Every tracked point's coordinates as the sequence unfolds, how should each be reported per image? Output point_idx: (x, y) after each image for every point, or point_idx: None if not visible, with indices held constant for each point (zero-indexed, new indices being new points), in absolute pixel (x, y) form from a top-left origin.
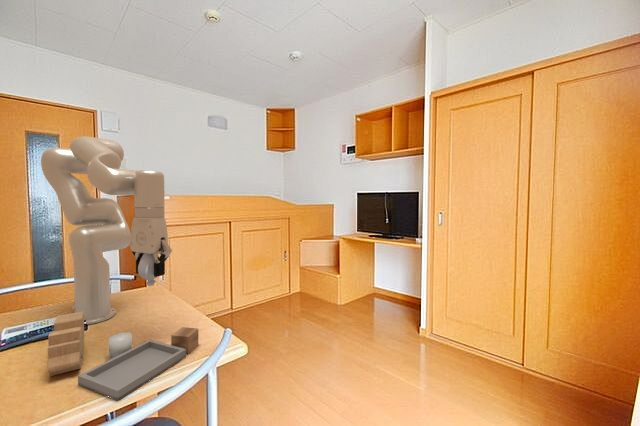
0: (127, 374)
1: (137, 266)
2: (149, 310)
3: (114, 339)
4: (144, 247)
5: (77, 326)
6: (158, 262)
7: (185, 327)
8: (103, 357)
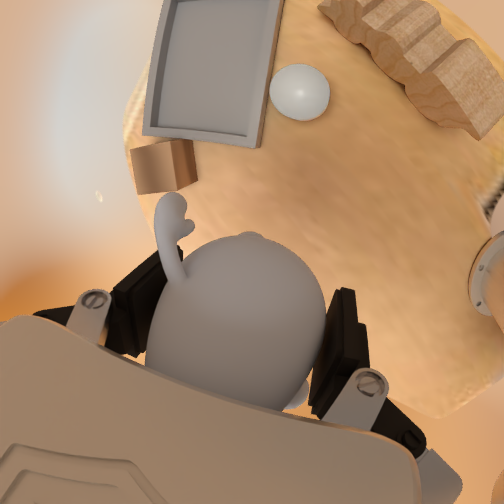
0: (209, 38)
1: (341, 320)
2: (404, 330)
3: (302, 74)
4: (74, 412)
5: (430, 67)
6: (88, 291)
7: (168, 191)
8: (336, 80)
